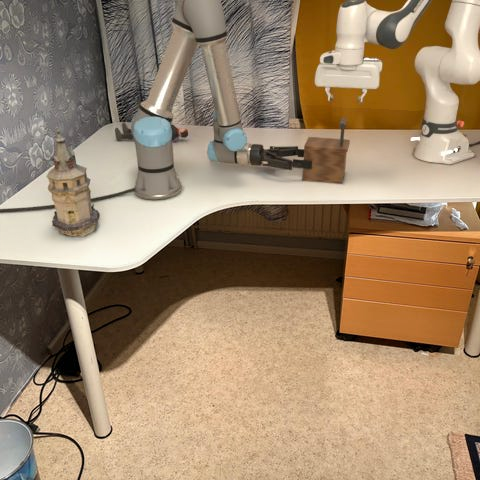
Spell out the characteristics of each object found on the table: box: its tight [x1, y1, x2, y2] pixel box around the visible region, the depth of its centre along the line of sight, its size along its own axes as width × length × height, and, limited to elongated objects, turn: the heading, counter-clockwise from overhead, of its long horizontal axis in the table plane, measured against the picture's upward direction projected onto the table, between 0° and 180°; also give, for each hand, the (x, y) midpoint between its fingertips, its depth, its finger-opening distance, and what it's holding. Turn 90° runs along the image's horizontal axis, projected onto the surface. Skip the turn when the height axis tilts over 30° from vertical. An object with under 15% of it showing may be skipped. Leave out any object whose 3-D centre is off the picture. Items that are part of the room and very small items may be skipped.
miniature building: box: [46, 129, 101, 237], centre depth 148 cm, size 13×14×30 cm
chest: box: [302, 148, 348, 185], centre depth 184 cm, size 14×10×11 cm
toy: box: [114, 121, 189, 142], centre depth 223 cm, size 26×6×30 cm
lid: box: [303, 117, 351, 153], centre depth 179 cm, size 14×10×9 cm
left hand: (313, 159), depth 185 cm, fingers closed on chest, 10 cm apart
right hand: (345, 101), depth 173 cm, fingers open, 8 cm apart
